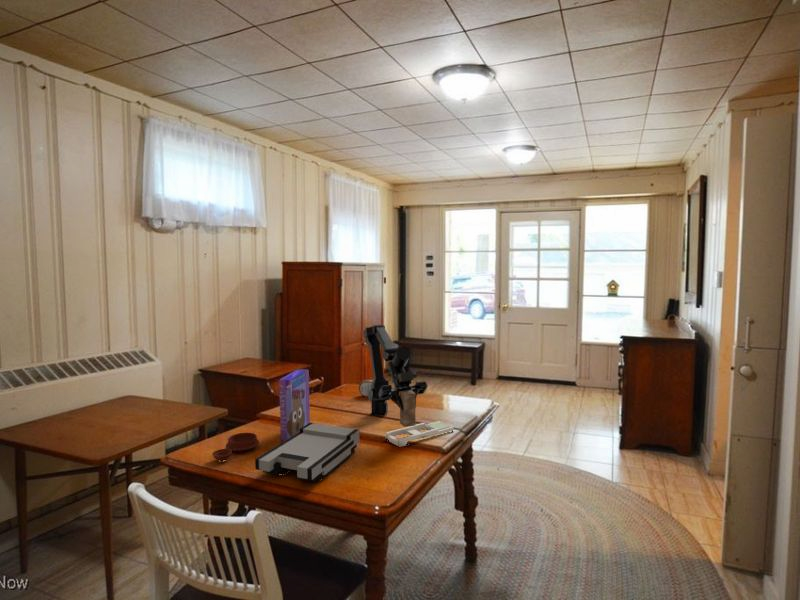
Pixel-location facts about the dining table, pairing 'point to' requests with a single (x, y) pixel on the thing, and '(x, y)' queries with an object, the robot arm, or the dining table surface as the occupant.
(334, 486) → the dining table surface
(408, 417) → the walnut block
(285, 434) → the cereal box
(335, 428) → the game console
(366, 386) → the tin
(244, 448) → the pottery
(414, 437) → the box
